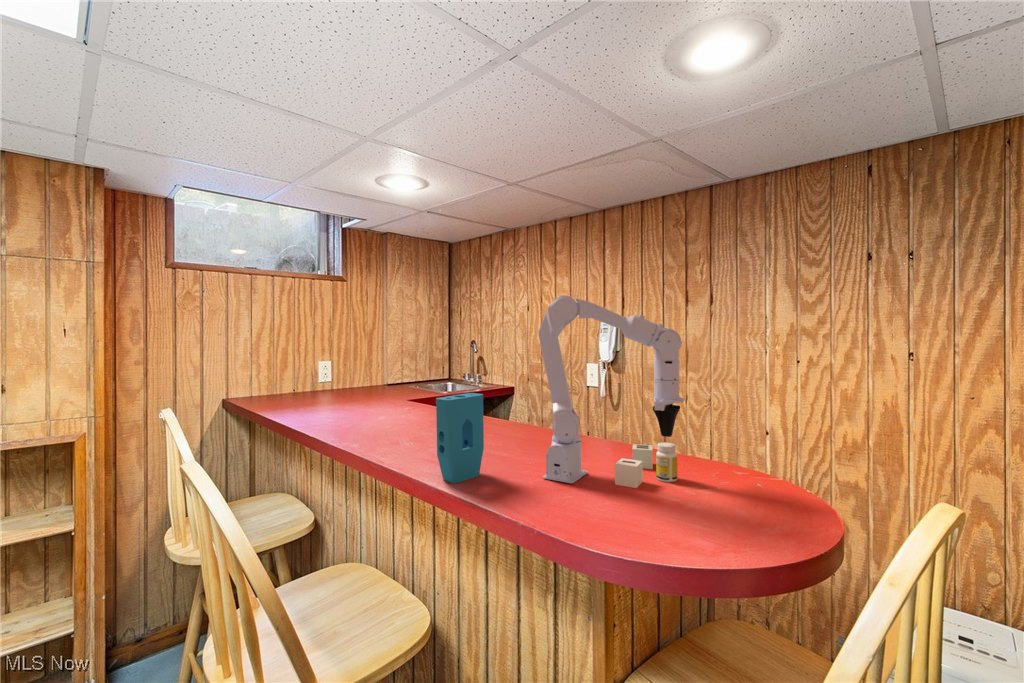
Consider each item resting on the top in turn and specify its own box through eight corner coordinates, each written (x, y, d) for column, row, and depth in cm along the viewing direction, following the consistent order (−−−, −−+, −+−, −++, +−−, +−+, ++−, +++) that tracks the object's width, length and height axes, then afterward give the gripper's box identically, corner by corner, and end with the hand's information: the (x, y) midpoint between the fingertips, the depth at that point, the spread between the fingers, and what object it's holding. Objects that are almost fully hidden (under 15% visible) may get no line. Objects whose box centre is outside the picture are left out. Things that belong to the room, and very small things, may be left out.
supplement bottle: (672, 475, 112) (672, 441, 112) (680, 482, 108) (680, 446, 107) (653, 476, 112) (653, 442, 112) (660, 482, 108) (660, 447, 107)
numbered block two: (652, 469, 118) (652, 449, 118) (632, 468, 119) (632, 448, 119) (652, 463, 123) (652, 444, 123) (633, 462, 124) (632, 443, 124)
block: (449, 485, 107) (448, 400, 107) (435, 481, 111) (434, 398, 110) (485, 473, 116) (484, 394, 116) (472, 469, 119) (471, 392, 119)
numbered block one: (636, 488, 104) (636, 465, 104) (615, 484, 107) (615, 462, 107) (642, 482, 109) (642, 460, 108) (621, 478, 111) (621, 457, 111)
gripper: (677, 383, 101) (677, 444, 101) (690, 377, 113) (690, 431, 114) (645, 381, 105) (645, 441, 105) (660, 375, 117) (661, 428, 117)
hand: (666, 436), depth 110 cm, fingers closed
